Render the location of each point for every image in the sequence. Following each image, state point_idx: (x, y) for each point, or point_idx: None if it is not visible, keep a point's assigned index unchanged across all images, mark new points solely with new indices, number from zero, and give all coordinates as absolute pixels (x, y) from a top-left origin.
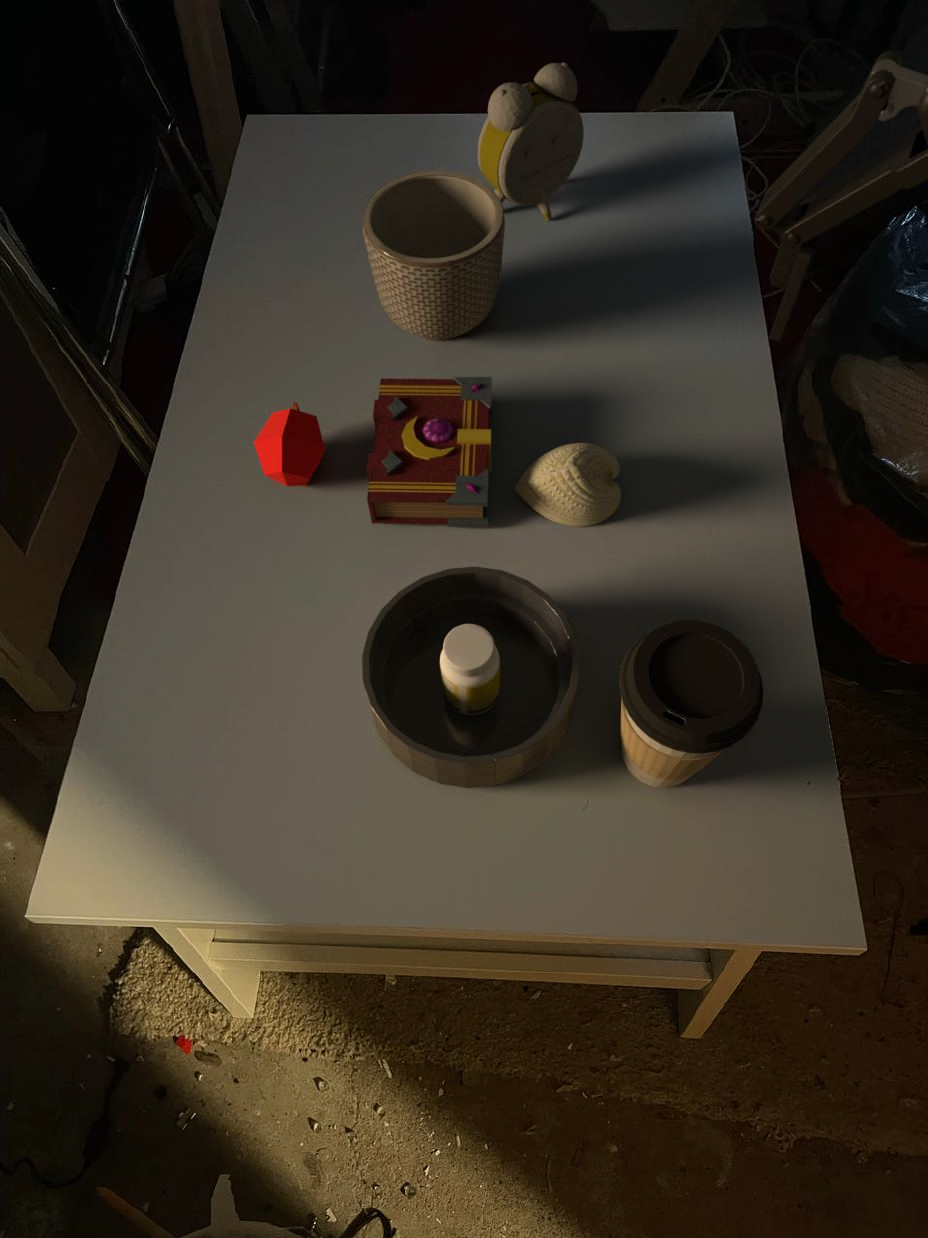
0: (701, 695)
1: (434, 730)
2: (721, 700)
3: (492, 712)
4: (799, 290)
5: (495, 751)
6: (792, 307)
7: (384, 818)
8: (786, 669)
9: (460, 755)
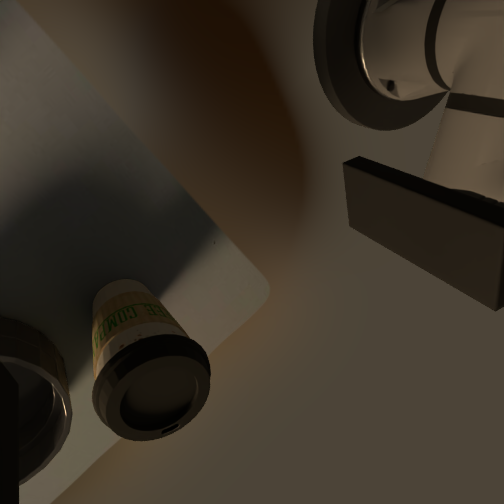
0: (172, 400)
1: None
2: (186, 390)
3: None
4: (2, 453)
5: (33, 398)
6: (18, 453)
7: None
8: (152, 182)
9: None
